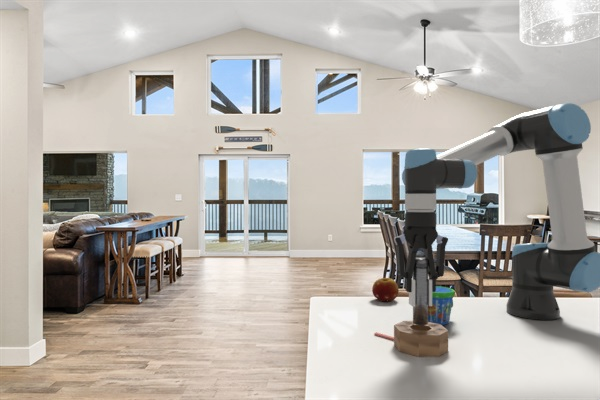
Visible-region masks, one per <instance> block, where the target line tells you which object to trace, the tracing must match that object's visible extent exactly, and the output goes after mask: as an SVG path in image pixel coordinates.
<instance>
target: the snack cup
mask: <svg viewBox="0 0 600 400" xmlns="http://www.w3.org/2000/svg"><path fill="white" fill-rule="evenodd" d="M455 296H456V291H455V290H454V289H453V288H450V287H446V286H439V285H436V291H435V292H432V306H428V322H431V323H436V324H440V325H442V326H445V325H448V324H449V323H450V319H451V314H452V308H453V307H454V300H453V298H454V297H455Z"/></svg>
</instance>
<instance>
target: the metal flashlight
mask: <svg viewBox="0 0 600 400" xmlns="http://www.w3.org/2000/svg"><path fill="white" fill-rule="evenodd" d="M412 278H413V279H414V280H415V306H412V321H413V323H414V324H417V325H427V324H428V278H429V276H428V259H426V258H425V257H416V259H415V265H414V271H413V276H412Z"/></svg>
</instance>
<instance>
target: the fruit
mask: <svg viewBox="0 0 600 400" xmlns="http://www.w3.org/2000/svg"><path fill="white" fill-rule="evenodd" d="M371 291H372V295H373V296H374V297H375V299H377V300H379V301H381V302H392V301H394V300H395V299H396V298H397V297H398V295H399V292H400V291H399V285H398V284H397V282H396V281H395V280H394V279H392V278H389V277H382V278H381V277H380V278H378V279H377V280H375V281H374V282H373V285H372V290H371Z"/></svg>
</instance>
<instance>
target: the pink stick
mask: <svg viewBox="0 0 600 400" xmlns="http://www.w3.org/2000/svg"><path fill="white" fill-rule="evenodd" d="M374 336H376V337H379V338H384V339H386V340H390V341H393V342H394V336H390V335H387V334H383V333H380V332H375V333H374Z"/></svg>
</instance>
